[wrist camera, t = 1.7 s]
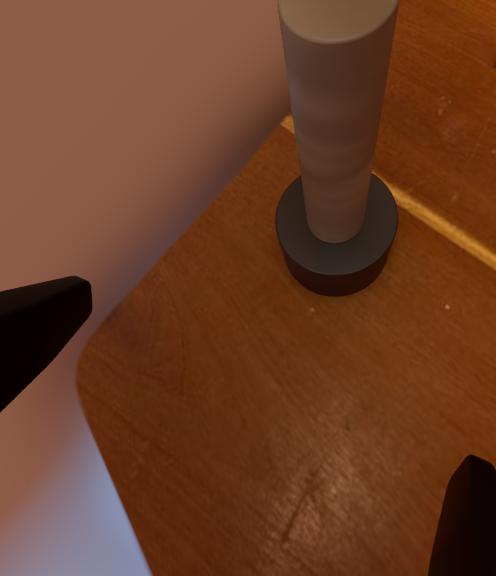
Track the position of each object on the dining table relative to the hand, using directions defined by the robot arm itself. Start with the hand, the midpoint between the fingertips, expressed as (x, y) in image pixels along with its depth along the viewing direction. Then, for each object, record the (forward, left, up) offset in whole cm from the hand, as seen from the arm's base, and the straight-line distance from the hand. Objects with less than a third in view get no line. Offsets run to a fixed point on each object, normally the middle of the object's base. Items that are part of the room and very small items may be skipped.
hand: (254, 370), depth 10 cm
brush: (+6, +6, -14) cm, 16 cm away
